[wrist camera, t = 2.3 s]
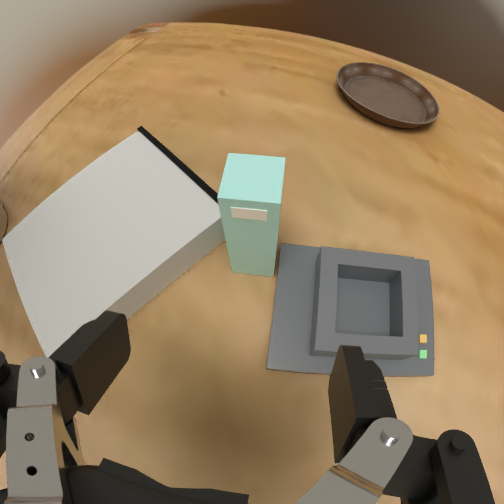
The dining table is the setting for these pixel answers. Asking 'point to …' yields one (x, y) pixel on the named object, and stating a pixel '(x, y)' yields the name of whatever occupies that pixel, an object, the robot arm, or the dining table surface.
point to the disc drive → (111, 238)
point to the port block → (351, 311)
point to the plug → (251, 211)
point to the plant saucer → (387, 95)
